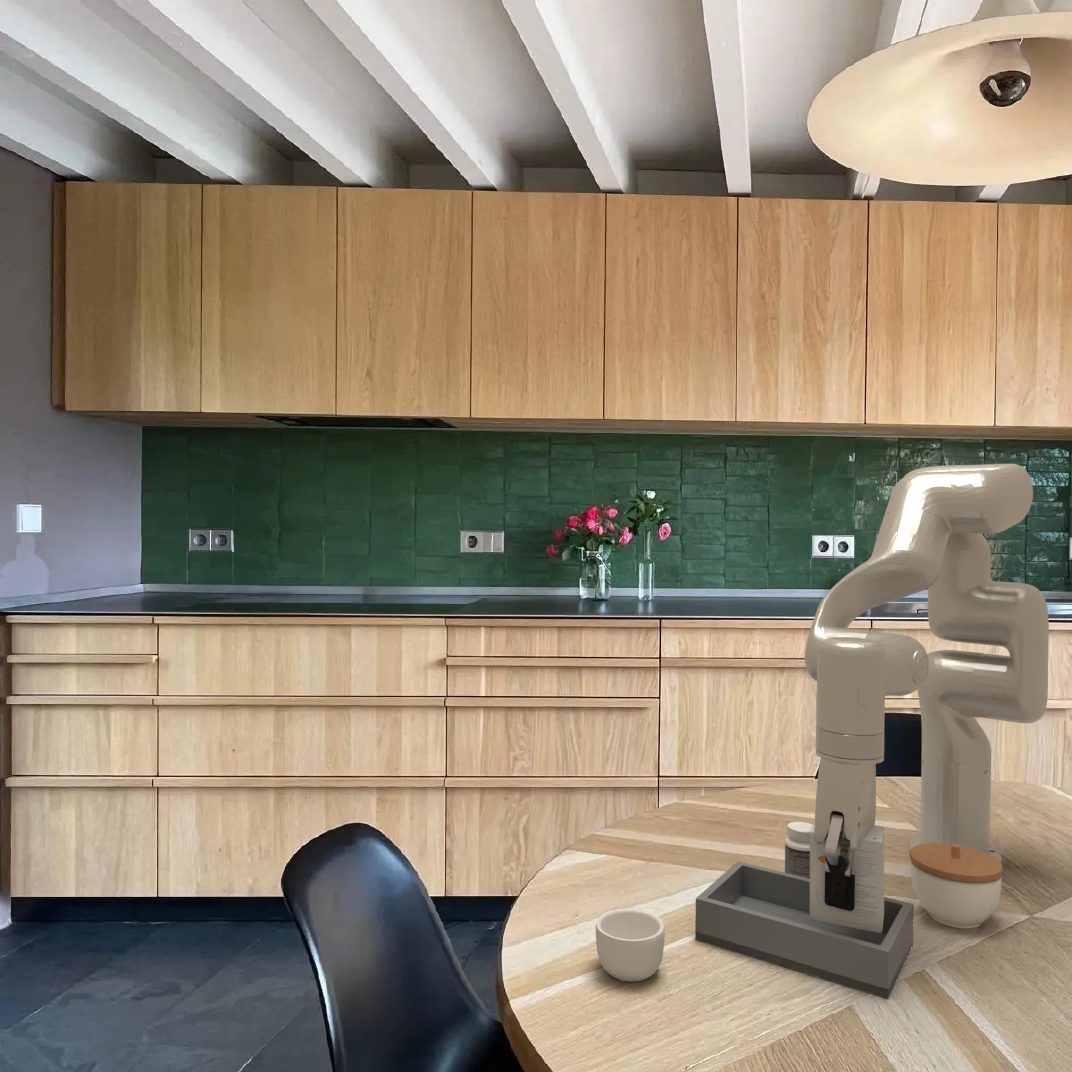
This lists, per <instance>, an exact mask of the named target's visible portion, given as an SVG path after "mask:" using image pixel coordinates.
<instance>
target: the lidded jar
mask: <svg viewBox="0 0 1072 1072" xmlns="http://www.w3.org/2000/svg"><path fill="white" fill-rule="evenodd" d="M909 859H910V860H909V861H910V877H911V884H912V887H913V892H914V894H915V896H916V899H917V900H918V901H919V904H920V905H921V906H922V907H923V908H924V909H925V910H926V911H927V913H928V915H930V916H931V917H932V918H933V919H932V918H931V917H930V916H929V917H930V918H931V919H932V920H934V921H935V920H936V921H935V922H937V923H939V922H940V923H939V924H941V923H942V924H941V925H943V926H944V925H945V926H947V927H950V926H951V928H955V929H961V930H962V929H963V930H971V929H976V928H978V927H980V926H982V923H983V922H986V921H987V920H988V919H989V918H990V917H991V916H992V915H993V914H994V913H995V911H996V909H997V907H998V905H999V902H1000V898H1001V893H1002V878H1003V871H1004V869H1003V867H1004V866H1003V865H1002V862H1001V863H1000V862H999V861H998V860H997V859H995V858H994V857H992V856H990V855H988V854H986V853H984V852H981V851H978V850H975V849H972V848H968V847H964V846H960V845H956V844H945V843H927V844H920V845H917V846H915V847H913V848H912V849H911V850H910V849H909Z"/></svg>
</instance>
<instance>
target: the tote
mask: <svg viewBox="0 0 1072 1072" xmlns="http://www.w3.org/2000/svg"><path fill="white" fill-rule="evenodd" d="M914 907H915V906H914V903H911V902H906V901H903V900H899V899H895V898H891V897H886V896H884V919H883V930H882V933H876V932H871V931H865V930H860V929H855V928H850V927H844V926H839V925H834V924H829V923H824V922H818V921H813V920H810V879H809V878H805V877H801V876H797V875H793V874H789V873H785V871H779V870H777V869H776V870H775V869H772V868H767V867H763V866H759V865H755V864H751V863H749V862H743V861H740V860H738V861H737V862H735V863H733V864H732V866H731V867H729V869H727V870H726V871H725V872H724V873H723V874H722V875H720V876H719V877H718V878H717V879H716V880H715V881H713V883H711V885H709V886H708V887H707V888H706V889H705V890H703V891H702V892H701V893H700V894H699V895H698V896H697V897H696V898H695V925H694V926H695V929H694V930H695V935H694V938H695V939H694V940H696V941H699V942H702V943H705V944H709V945H712V946H715V947H719V948H721V949H724V950H728V951H731V952H735V953H738V954H741V955H745V956H747V957H751V958H754V959H758V960H761V961H764V962H767V963H771V964H774V965H777V966H780V967H783V968H787V969H789V970H793V971H796V972H800V973H803V974H807V975H809V976H811V977H812V976H813V977H815V978H819V979H822V980H825V981H828V982H831V983H836V984H839V985H841V986H845V987H849V988H850V989H854V990H857V989H858V991H862V992H864V993H868V994H871V995H875V996H877V997H879V998H880V997H881V998H884V999H887V1000H889V997H890V995H891V993H892V992H893V989H894V988H895V987H894V986H895V985H896V983H897V981H896V980H898V978H899V976H900V974H901V972H902V970H903V967H904V966H903V965H905V964H904V963H906V961H907V959H908V957H909V954H910V953H909V952H911V951H912V949H911V947H912V946H914V917H915V915H914V913H915V911H914V910H915V908H914ZM912 948H913V947H912ZM910 950H911V951H910ZM907 956H908V957H907ZM895 982H896V983H895Z"/></svg>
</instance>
